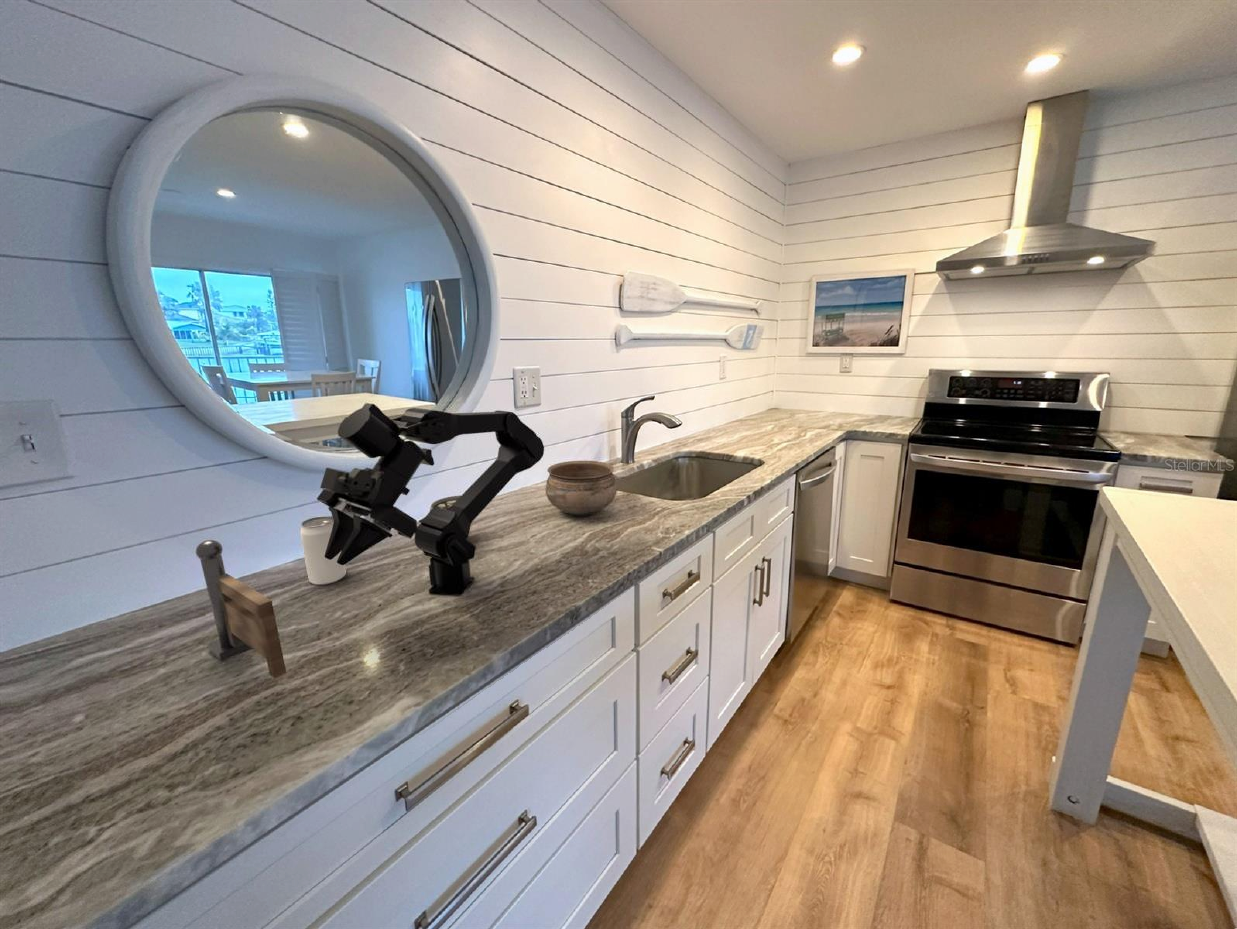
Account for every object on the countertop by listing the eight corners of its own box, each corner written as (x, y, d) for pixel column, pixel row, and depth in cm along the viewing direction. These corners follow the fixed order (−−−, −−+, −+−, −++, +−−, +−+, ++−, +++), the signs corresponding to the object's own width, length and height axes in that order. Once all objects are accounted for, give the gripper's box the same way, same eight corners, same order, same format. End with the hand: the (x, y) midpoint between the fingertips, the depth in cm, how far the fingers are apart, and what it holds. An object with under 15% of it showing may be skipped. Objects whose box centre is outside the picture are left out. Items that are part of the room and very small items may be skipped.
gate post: (208, 651, 75) (182, 542, 71) (242, 636, 79) (219, 532, 74) (221, 661, 73) (194, 549, 68) (254, 645, 76) (231, 539, 72)
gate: (230, 644, 73) (214, 577, 71) (241, 639, 75) (226, 573, 72) (275, 678, 66) (259, 605, 63) (286, 672, 67) (271, 600, 64)
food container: (440, 534, 118) (436, 495, 116) (466, 534, 119) (463, 494, 116) (425, 557, 107) (420, 513, 104) (454, 556, 107) (450, 512, 104)
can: (330, 587, 94) (320, 528, 91) (300, 584, 95) (290, 526, 92) (354, 571, 100) (345, 516, 97) (326, 569, 101) (317, 514, 98)
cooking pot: (583, 494, 148) (582, 454, 145) (636, 506, 138) (636, 463, 135) (523, 519, 128) (520, 473, 125) (580, 535, 118) (579, 486, 115)
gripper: (320, 439, 79) (254, 525, 73) (389, 453, 69) (320, 554, 63) (373, 474, 88) (318, 554, 81) (441, 492, 78) (385, 585, 72)
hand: (333, 561), depth 74 cm, fingers open, 3 cm apart
